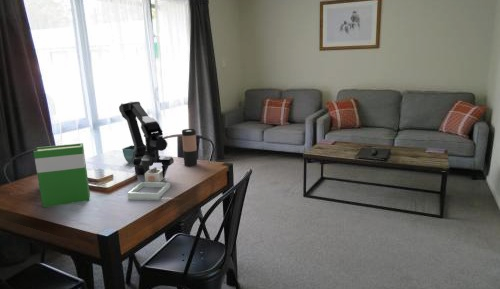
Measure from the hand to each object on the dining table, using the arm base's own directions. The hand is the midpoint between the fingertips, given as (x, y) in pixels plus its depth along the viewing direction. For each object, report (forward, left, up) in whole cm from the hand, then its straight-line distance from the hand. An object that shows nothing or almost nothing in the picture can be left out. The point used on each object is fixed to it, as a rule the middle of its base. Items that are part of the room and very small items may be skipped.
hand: (154, 177), depth 175 cm
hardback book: (-29, -27, -2) cm, 39 cm away
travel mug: (+9, +29, -2) cm, 31 cm away
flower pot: (-26, +31, -2) cm, 41 cm away
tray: (+4, -16, -2) cm, 16 cm away
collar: (0, 0, -1) cm, 1 cm away
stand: (+1, -2, -2) cm, 3 cm away
